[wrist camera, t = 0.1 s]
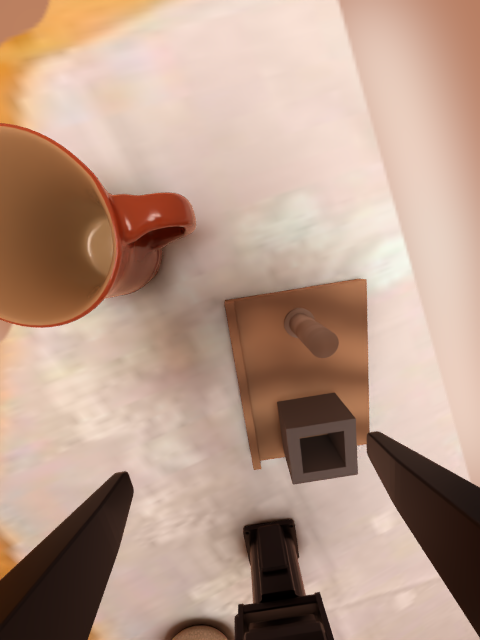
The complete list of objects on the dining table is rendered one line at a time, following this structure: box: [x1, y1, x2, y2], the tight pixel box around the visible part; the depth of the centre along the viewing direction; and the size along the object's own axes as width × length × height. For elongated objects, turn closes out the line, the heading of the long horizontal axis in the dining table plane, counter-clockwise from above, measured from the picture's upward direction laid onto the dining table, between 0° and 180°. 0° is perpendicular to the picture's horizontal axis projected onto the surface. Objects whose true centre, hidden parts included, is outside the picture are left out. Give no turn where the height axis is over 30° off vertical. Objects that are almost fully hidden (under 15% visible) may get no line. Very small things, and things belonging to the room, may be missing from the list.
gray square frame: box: [277, 392, 358, 484], centre depth 22 cm, size 6×6×4 cm
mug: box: [0, 123, 196, 328], centre depth 15 cm, size 12×9×10 cm
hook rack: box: [225, 279, 369, 470], centre depth 20 cm, size 18×13×7 cm
